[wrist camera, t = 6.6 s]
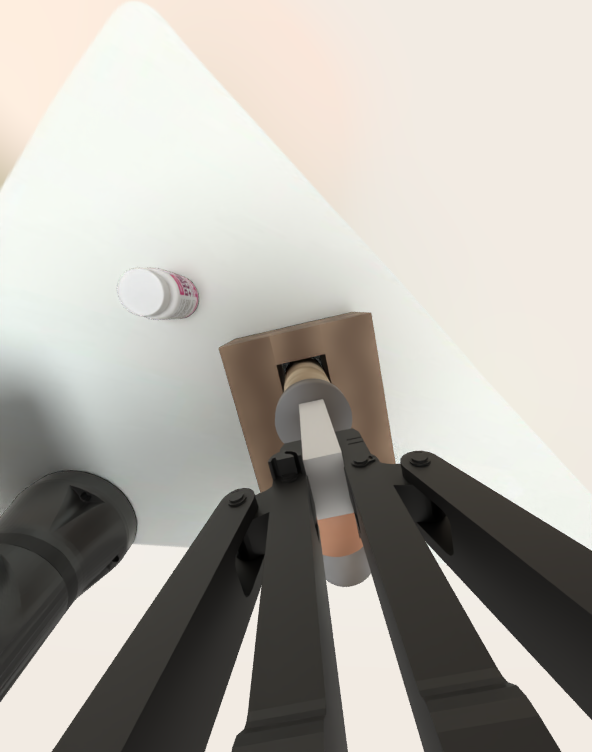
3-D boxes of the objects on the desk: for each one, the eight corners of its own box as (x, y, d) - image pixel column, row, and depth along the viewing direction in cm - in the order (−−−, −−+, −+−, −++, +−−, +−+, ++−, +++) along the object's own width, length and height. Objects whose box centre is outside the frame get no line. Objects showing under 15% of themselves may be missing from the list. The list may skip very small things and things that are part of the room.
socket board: (285, 522, 39) (284, 575, 32) (235, 338, 33) (218, 347, 26) (385, 502, 39) (409, 550, 31) (352, 312, 33) (371, 312, 25)
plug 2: (314, 503, 38) (325, 591, 26) (307, 471, 37) (315, 548, 25) (350, 495, 38) (377, 580, 26) (343, 463, 37) (368, 537, 25)
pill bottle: (207, 292, 32) (179, 286, 24) (185, 326, 33) (151, 332, 25) (171, 265, 32) (128, 250, 23) (149, 301, 32) (101, 299, 24)
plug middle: (303, 468, 32) (310, 562, 20) (293, 429, 31) (295, 505, 19) (345, 459, 32) (378, 549, 20) (337, 420, 31) (366, 490, 19)
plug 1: (287, 402, 30) (284, 462, 18) (276, 358, 29) (266, 392, 17) (331, 392, 30) (358, 447, 18) (322, 348, 29) (344, 375, 17)
